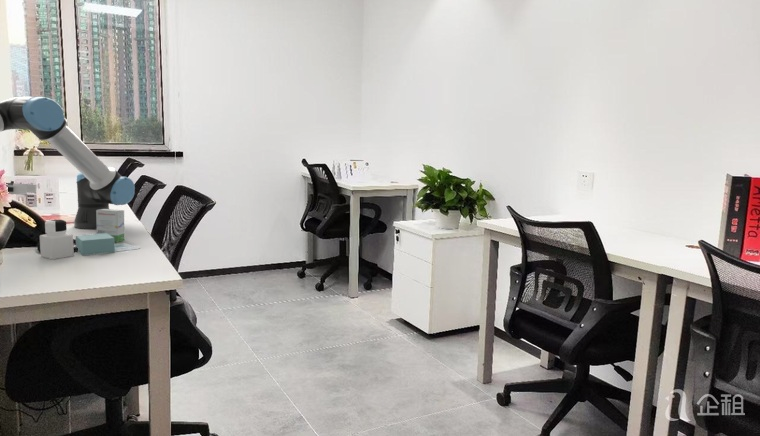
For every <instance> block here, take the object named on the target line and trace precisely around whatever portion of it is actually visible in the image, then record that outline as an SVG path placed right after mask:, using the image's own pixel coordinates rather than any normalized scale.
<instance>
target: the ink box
mask: <svg viewBox="0 0 760 436" xmlns="http://www.w3.org/2000/svg"><path fill="white" fill-rule="evenodd" d="M96 223H97V228H96V234H103V233H107V234H109V235H110V236H112V237H114V243H119V242H122V241H125V209H112V208H111V209H110V208H109V209H100V210H96Z"/></svg>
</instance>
